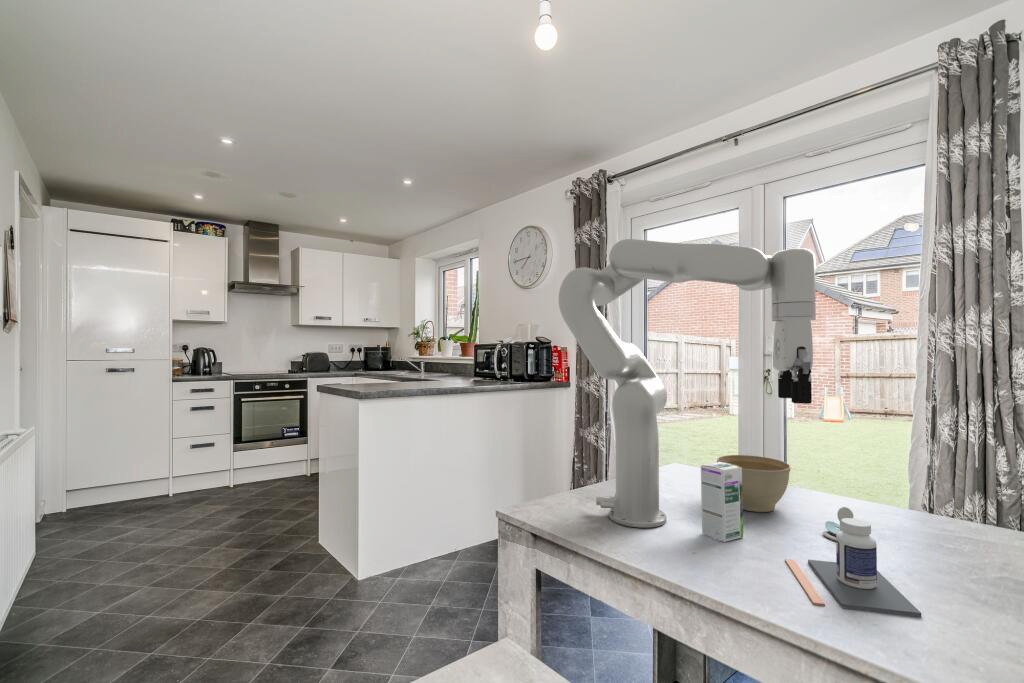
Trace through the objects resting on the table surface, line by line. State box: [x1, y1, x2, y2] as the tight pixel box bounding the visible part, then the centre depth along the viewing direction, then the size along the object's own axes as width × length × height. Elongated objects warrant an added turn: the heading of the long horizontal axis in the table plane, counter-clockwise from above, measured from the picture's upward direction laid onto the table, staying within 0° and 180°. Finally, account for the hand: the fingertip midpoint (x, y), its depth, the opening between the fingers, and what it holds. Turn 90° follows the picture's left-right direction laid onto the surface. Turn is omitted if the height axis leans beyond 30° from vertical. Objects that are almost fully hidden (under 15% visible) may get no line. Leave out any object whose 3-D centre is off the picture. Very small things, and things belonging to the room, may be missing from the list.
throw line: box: [784, 558, 826, 607], centre depth 82 cm, size 2×16×1 cm, turn 165°
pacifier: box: [822, 506, 855, 542], centre depth 101 cm, size 7×6×6 cm
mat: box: [807, 559, 922, 618], centre depth 80 cm, size 10×16×1 cm, turn 165°
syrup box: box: [700, 462, 744, 543], centre depth 102 cm, size 6×6×14 cm
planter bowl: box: [716, 454, 791, 513], centre depth 121 cm, size 16×16×11 cm
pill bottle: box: [835, 518, 878, 589], centre depth 81 cm, size 5×5×10 cm
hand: (793, 400), depth 97 cm, fingers open, 9 cm apart
